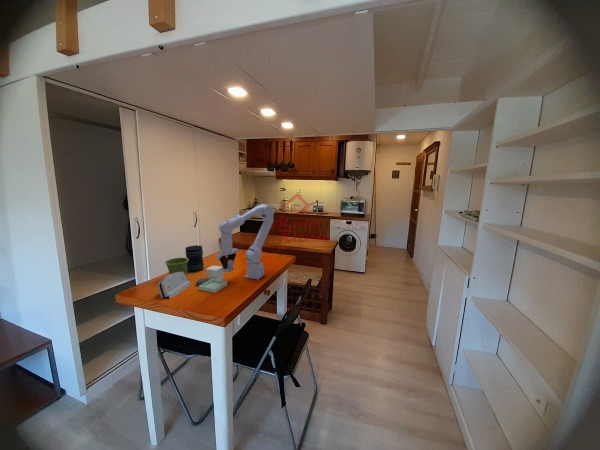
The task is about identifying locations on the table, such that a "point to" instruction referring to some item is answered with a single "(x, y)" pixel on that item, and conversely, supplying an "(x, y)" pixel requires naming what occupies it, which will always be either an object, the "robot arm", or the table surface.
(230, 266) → the block
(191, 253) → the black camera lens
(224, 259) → the robot arm
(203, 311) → the table surface
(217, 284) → the tray
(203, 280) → the square block
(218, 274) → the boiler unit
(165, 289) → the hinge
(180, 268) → the plant pot
